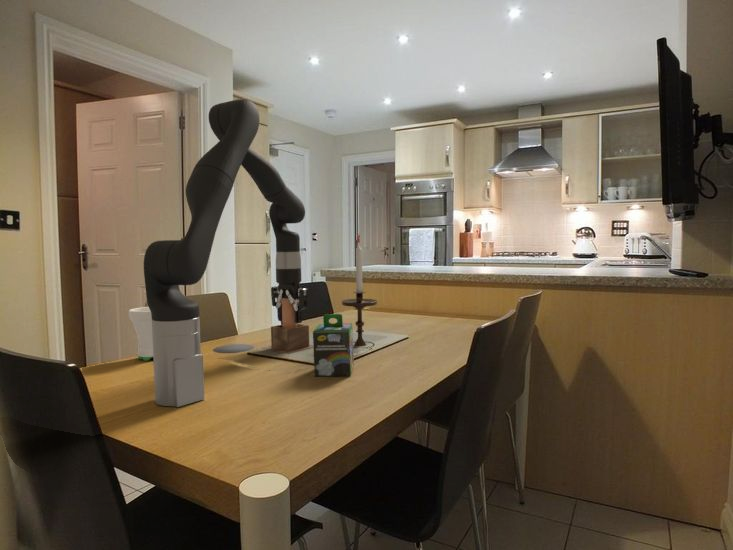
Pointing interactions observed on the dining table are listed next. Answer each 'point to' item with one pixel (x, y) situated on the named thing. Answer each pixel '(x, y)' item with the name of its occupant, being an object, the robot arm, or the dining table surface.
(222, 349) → the coaster
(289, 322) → the dowel
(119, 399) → the dining table surface
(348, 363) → the chalk box
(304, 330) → the open wooden box
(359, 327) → the candlestick
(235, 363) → the dining table surface
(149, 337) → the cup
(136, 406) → the dining table surface
